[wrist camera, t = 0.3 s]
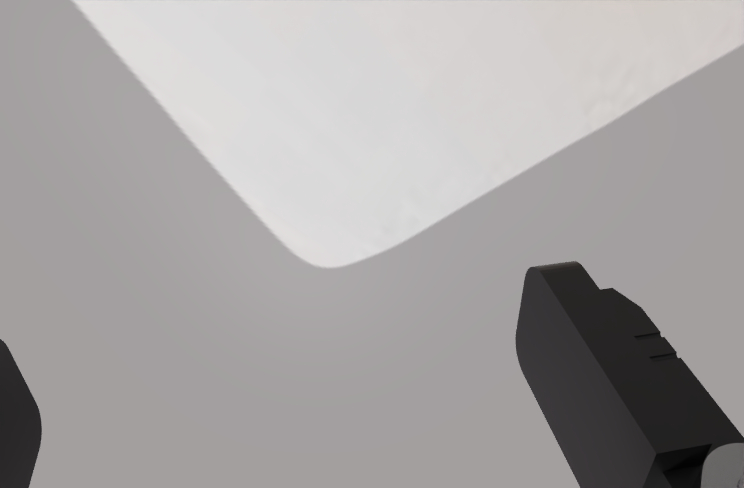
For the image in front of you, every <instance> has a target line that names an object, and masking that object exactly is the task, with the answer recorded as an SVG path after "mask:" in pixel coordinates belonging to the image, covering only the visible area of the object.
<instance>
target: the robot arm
mask: <svg viewBox="0 0 744 488" xmlns="http://www.w3.org/2000/svg"><path fill="white" fill-rule="evenodd" d="M516 351H517V356H518V360H519V363H520V367H521V370H522V372H523V374H524V376H525V378H526V380H527V382H528V384H529V386H530V388H531V390H532V392H533V394H534V396H535V398H536V400H537V402H538V404H539V406H540V408H541V410H542V412H543V414H544V415H545V418H546V420H547V422H548V424H549V426H550V428H551V430H552V432H553V434H554V436H555V438H556V440H557V442H558V444H559V446H560V448H561V450H562V452H563V454H564V456H565V458H566V460H567V462H568V464H569V466H570V468H571V470H572V472H573V474H574V475H575V477H576V480H577V482H578V484H579V486H580V488H744V437H743V436H742V435H741V434H740V433H739V431H738V430H737V429H736V427H735V426H734V425H733V424H732V423H731V421H730V420H729V419H728V417H727V416H726V415H725V414H724V412H723V411H722V410H721V408H720V407H719V406H718V405H717V403H716V402H715V401H714V400H713V398H712V397H711V396H710V394H709V393H708V392H707V391H706V389H705V388H704V387H703V386H702V385H701V383H700V382H699V380H697V378H696V377H695V376H694V374H693V373H692V372H691V370H690V369H689V368H688V366H687V365H686V364H685V363H684V361H683V360H682V359H681V358H677V355H676V351H675V350H674V349H673V347H672V346H671V345H670V344H669V342H668V341H667V340H666V339H665V338H664V337H661V335H660V331H659V330H658V328H657V327H656V326H655V325H654V323H653V322H652V321H651V320H650V318H649V317H648V316H647V315H646V313H645V312H644V311H643V309H642V308H641V307H639V306H638V305H637V304H635V303H634V302H632V301H631V300H629V299H628V298H626V297H625V296H623V295H622V294H620V293H619V292H618V291H616V290H614V289H613V288H609V289H602V290H600V289H599V288H598V287H597V285H596V284H595V282H594V281H593V280H592V278H591V277H590V276H589V274H588V273H587V272H586V270H585V269H584V268H583V267H582V265H581V264H579V263H578V262H574V261H573V262H565V263H558V264H550V265H544V266H536V267H530V268H529V269H528V271H527V273H526V276H525V281H524V287H523V293H522V300H521V307H520V312H519V319H518V325H517V330H516ZM41 432H42V428H41V418H40V413H39V409H38V406H37V404H36V402H35V400H34V398H33V396H32V394H31V392H30V390H29V388H28V386H27V384H26V382H25V380H24V378H23V376H22V374H21V372H20V370H19V369H18V366H17V365H16V362H15V361H14V359H13V357H12V355H11V353H10V351H9V349H8V347H7V345H6V344H5V343H4V342H3V341H2V340H1V339H0V488H28V487H29V484H30V481H31V477H32V473H33V470H34V466H35V463H36V459H37V456H38V452H39V448H40V443H41Z"/></svg>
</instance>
